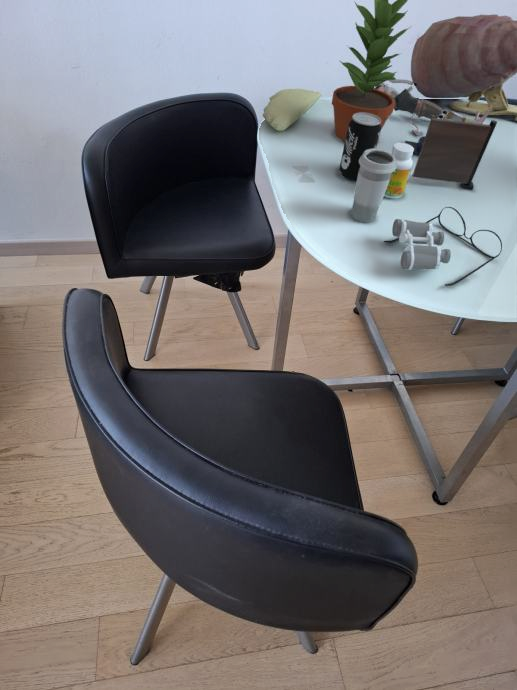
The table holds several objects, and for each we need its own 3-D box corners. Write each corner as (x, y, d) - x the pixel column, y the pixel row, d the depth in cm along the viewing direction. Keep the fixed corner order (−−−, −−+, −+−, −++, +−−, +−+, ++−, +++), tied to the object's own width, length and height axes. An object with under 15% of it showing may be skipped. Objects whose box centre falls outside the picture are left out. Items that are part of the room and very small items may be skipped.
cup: (348, 202, 97) (363, 144, 88) (381, 210, 96) (399, 151, 88) (343, 221, 92) (358, 161, 84) (378, 229, 92) (396, 169, 83)
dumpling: (320, 103, 132) (287, 91, 134) (324, 86, 129) (290, 74, 131) (280, 140, 116) (243, 126, 118) (284, 121, 112) (245, 107, 114)
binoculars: (391, 229, 88) (396, 212, 86) (434, 232, 89) (441, 215, 86) (402, 273, 81) (408, 256, 78) (450, 276, 81) (458, 259, 78)
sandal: (529, 134, 128) (544, 101, 122) (446, 107, 137) (457, 75, 131) (542, 122, 136) (557, 90, 130) (463, 97, 145) (474, 67, 139)
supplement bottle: (375, 195, 100) (388, 149, 93) (378, 183, 104) (391, 138, 97) (401, 201, 99) (416, 155, 92) (403, 189, 103) (418, 144, 96)
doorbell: (453, 150, 118) (457, 140, 116) (455, 162, 114) (459, 152, 112) (404, 142, 119) (407, 132, 117) (404, 154, 115) (407, 143, 113)
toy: (495, 82, 122) (375, 66, 124) (489, 140, 119) (367, 123, 121) (480, 105, 131) (369, 90, 133) (474, 160, 128) (360, 144, 130)
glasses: (443, 200, 91) (436, 222, 95) (384, 233, 86) (380, 254, 90) (508, 239, 83) (498, 261, 87) (448, 277, 78) (440, 299, 82)
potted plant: (356, 155, 112) (393, -2, 90) (314, 129, 120) (338, -21, 98) (400, 142, 119) (444, -7, 97) (357, 118, 126) (389, -24, 105)
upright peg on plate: (471, 185, 107) (499, 120, 97) (472, 190, 105) (501, 124, 95) (460, 183, 107) (487, 118, 97) (461, 188, 105) (488, 122, 95)
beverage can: (364, 185, 103) (379, 128, 94) (335, 177, 104) (346, 120, 95) (371, 172, 107) (386, 116, 98) (342, 164, 108) (354, 108, 100)
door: (467, 183, 104) (491, 127, 95) (413, 177, 104) (432, 119, 95) (466, 181, 105) (490, 124, 96) (412, 174, 105) (431, 117, 96)
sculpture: (550, -4, 114) (503, 29, 142) (428, 0, 116) (406, 32, 144) (534, 89, 120) (492, 103, 148) (419, 90, 123) (399, 104, 151)
